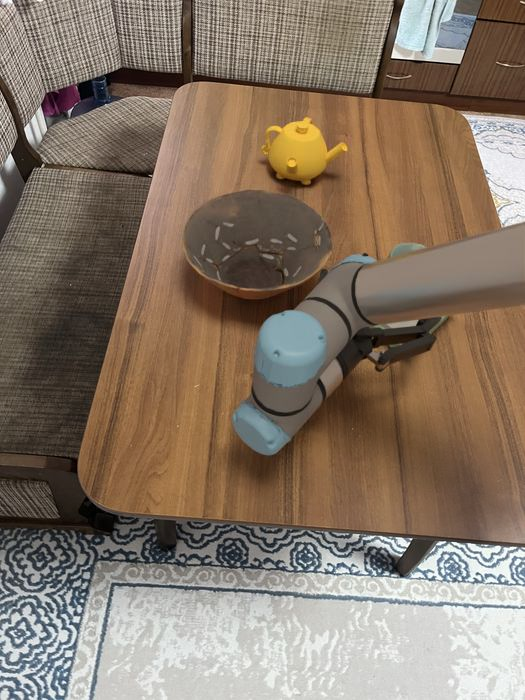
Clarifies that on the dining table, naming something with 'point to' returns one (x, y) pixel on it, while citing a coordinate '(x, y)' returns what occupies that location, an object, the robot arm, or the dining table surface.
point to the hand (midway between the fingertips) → (400, 280)
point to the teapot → (299, 151)
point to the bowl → (256, 242)
